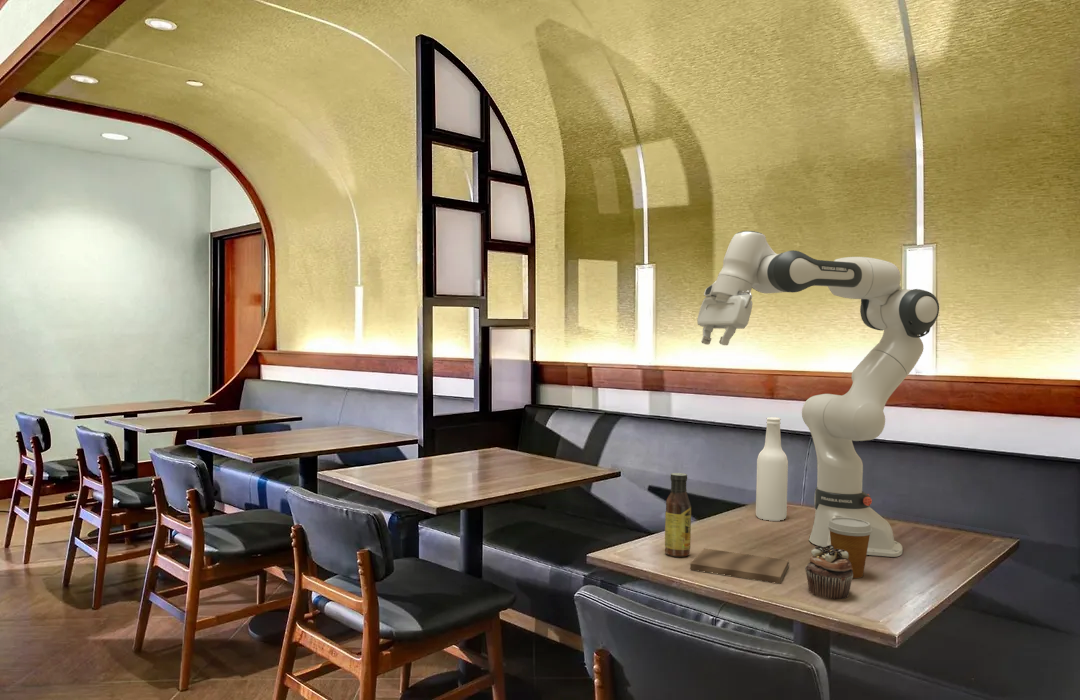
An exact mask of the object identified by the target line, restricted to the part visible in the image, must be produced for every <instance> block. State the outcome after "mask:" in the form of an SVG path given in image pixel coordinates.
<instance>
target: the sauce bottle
mask: <svg viewBox="0 0 1080 700" xmlns="http://www.w3.org/2000/svg"><path fill="white" fill-rule="evenodd" d="M687 482H688V474H686V473H683V472H672V473H670V483H671V484H670V493H669V494H668V496H667V498H666V499H665V500H666V502H665V518H664V523H665V524H664V525H665V526H664V547H665V549H664V552H665V554H666V555H668V556H671V557H677V558H678V557H679V558H682V557H683V558H684V557H687V556H689V555H690V553H691V540H692V539H691V537H692V536H691V535H692V505H691V501H690V499H689V495H688V493H687Z"/></svg>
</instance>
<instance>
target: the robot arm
mask: <svg viewBox="0 0 1080 700" xmlns="http://www.w3.org/2000/svg"><path fill="white" fill-rule="evenodd" d="M722 263H723V264H722V267H721V270H720V271H719V273H718V275H717V278H716V280H715V281H714V282H713V283H712V284H711V285H709V286H707V287H706V288H705V290H704V292H703V296H705V297H704V298H703V299H702V302H701V305H700V308H699V311H698V315H697V319H696V321H697V325H698V326H700V327H702V338H701V344H703V345H710V344H711V341H712V338H711V337H712V335H711V334H712V333H713V330H714V329H715V330H718V329H719V330H720V329H724V330H725V331H724V333H723V334H722V336H720V340H719V341H718V343H719V344H720V345H722V346H728V345H729V344H730V341H731V339H732V337H733V336H735V333H736V331H737V330H738V329H739V330H740V329H742V330H743V329H745V328H746V327H747V326H748V324H749V321H750V318H751V313H752V309H753V301H752V299H753V295H752V290H755V291H757V292H758V293H761V294H777V293H779V294H780V293H799V292H802V291H804V290H806V289H808V288H810V287H814V286H816V287H828V290H829V291H830V293H831V294H832V295H833V296H837V297H840V298H844V299H850V300H860V308H859V311H860V317H861V320H862V322H863V324H864V325H866V327H868V328H870V329H873V330H877V331H883V334H882V337H881V339H880V340H879V342H878V343H877V344H876V345H875V346H874V347H873V348H872V349H871V350H870V351H869V352H868V354H866V356H864V358H863V359H862V360H861V361H860V362H859V363H858V365H857V366H855V368H854V369H853V370H852V372H851V381H852V385H851V386H850V388H849V390H848V391H847V392H846V393H845V394H842V395H840V394H832V393H822V394H816V395H812V396H810V397H809V398H807V400H806V401H805V402H804V403H803V406H802V409H801V417H802V420H803V423H804V424H805V425H806V427H807V429H808V430H809V432H810V435H811V438H812V441H813V445H814V448H815V453H816V461H817V464H816V466H817V469H816V470H817V471H816V472H817V475H816V476H817V479H816V481H817V486H816V488H815V491H814V502H813V503H814V509H815V513H814V521H813V526H812V529H811V532H810V536H809V538H808V540H809V542H811V543H812V544H813V545H816V546H817V547H818V546H822V547H826V546H829V545H831V539H830V530H829V528H828V524H829V521H830V519H832V518H840V517H842V518H854V519H860V520H864V521H866V522H869V523H870V526H871V529H872V532H871V534H870V536H869V542H868V548H867V554H866V556H868V555H869V556H877V557H878V556H879V557H888V558H889V557H891V558H897V557H899V556H901V555H903V544H901V543H900V542H898V541H897V540H895V538H894V532H893V528H892V526H891V525H890V523H889V522H888V521H887V520H886V519H885V518H883V517H882V516H881V515H880V514H879V513H878V512H876V511H875V510H874V509H873V508H872V507H870V506H871V505H872V501H873V500H872V498H871V495H870V493H866V492H864V490H863V475H864V474H863V473H864V464H863V459H861V457H860V456H859V455H858V453H857V452H856V450H855V446H854V443H853V442H859V441H860V442H863V441H864V442H865V441H871V440H872V441H873V440H874V439H877V438H878V437H880V435H881V434H882V433H883V431H884V428H885V426H886V416H885V413H884V409H885V406H886V404H887V402H888V401H889V399H890V397H891V396H892V394H894V392H895V391H896V389H897V388H899V386H900V385H901V383H902V382H903V381H904V380H905V379H906V377H908V376H909V374H910V373H911V372H912V370H913V369H914V368H915V366H916V364H917V363H918V362H919V360H920V357H922V354H923V352H924V343H923V341H922V339H921V338H922V337H925V336H926V335H927V334H929V333H930V331H931V328H932V327H933V326H934V324H935V323H936V321H937V320H938V317H939V313H940V304H939V300H938V298H937V297H936V296H935V294H933V293H932V292H930V291H927V290H924V289H919V288H914V289H913V288H912V289H905V288H903V289H902V287H901V285H900V284H901V279H902V277H901V276H902V275H901V272H900V270H899V267H897V266H896V264H894V263H893V262H891V261H889V260H888V261H887V260H884V259H881V258H880V259H879V258H874V257H868V256H846V257H840V258H835V259H834V260H824V259H823V260H821V259H816V258H813V257H811V256H809V255H807V254H805V253H804V252H802V251H799V250H787V251H784V252H781V253H776V252H775V251H774V250H773V249H772V247H771V245H770V244H769V243H768V241H767V237H766V235H765V234H764V233H762V232H759V231H755V230H742V231H738V232H737V233H735V234H734V235H733V236H732V238H731V240H730V241H729V244H728V246H727V250H726V252H725V254H724V257H723V261H722Z"/></svg>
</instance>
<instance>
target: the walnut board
mask: <svg viewBox="0 0 1080 700" xmlns="http://www.w3.org/2000/svg"><path fill="white" fill-rule="evenodd" d="M789 566H790V560H789V559H783V558H776V557H769V556H762V555H756V554H755V555H754V554H746V553H741V552H734V551H726V550H717V549H711V548H703V550H701V552H700V553H699V554H698V555H697V556H696V557H695V558H694V559H693V560H692V561H691V562H690V568H689V569H691V570H690V571H693V570H699V571H698V572H700V571H705V572H704V573H706V572H713V573H718V574H717V575H719V574H725V575H724V576H726V575H731V576H730V577H732V576H736V577H735V578H739V577H742V578H741V579H745V578H749V579H748V580H752V579H755V580H754V581H758V580H762V581H761V582H765V581H768V582H767V583H772V582H775V583H774V584H778V583H780V584H781V583H782V581H783V579H784V577H785V575H786V573H787V571H788V569H789ZM713 573H712V574H713Z"/></svg>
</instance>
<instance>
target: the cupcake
mask: <svg viewBox="0 0 1080 700" xmlns="http://www.w3.org/2000/svg"><path fill="white" fill-rule="evenodd" d="M810 551H811V556H809V562H808V563H807V564H806V566H805V567H804V569H805V574H806V579H807V586H808V592H809V593H810V594H812V595H813V594H814V596H816V595H817V596H816V597H819V598H823V599H826V600H827V599H828V600H842V599H847V598H848V597H849V594H850V590H851V585H852V580H853V579H854V578H853V570H852V566H851V562H850V561H849V559H848V552H847V551H844V549H843V550H841V549H834V546H832V545H829V546H826V547H822V546H818V545H817V546H814V548H813V549H812V550H810Z"/></svg>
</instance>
